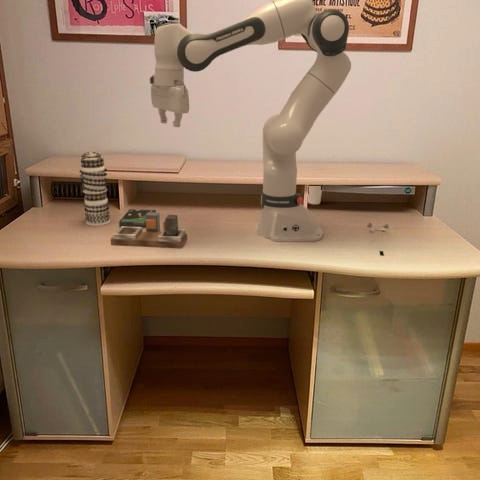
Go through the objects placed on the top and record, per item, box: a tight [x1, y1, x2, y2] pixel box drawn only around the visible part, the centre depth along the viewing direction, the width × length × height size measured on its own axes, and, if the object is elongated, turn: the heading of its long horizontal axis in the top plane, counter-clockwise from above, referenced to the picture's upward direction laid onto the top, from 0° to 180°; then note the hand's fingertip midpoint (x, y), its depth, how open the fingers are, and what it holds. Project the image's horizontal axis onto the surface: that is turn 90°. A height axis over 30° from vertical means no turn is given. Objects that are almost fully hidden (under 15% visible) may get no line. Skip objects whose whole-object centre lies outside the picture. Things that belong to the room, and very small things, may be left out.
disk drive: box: [118, 208, 157, 229], centre depth 174 cm, size 10×3×15 cm
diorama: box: [367, 222, 389, 257], centre depth 159 cm, size 9×27×4 cm, turn 169°
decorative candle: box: [79, 151, 111, 227], centre depth 169 cm, size 9×9×25 cm
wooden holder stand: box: [110, 214, 188, 249], centre depth 153 cm, size 23×8×9 cm, turn 84°
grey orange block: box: [145, 212, 161, 232], centre depth 161 cm, size 4×4×7 cm
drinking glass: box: [307, 165, 326, 206], centre depth 196 cm, size 7×7×15 cm
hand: (170, 125), depth 153 cm, fingers open, 8 cm apart
